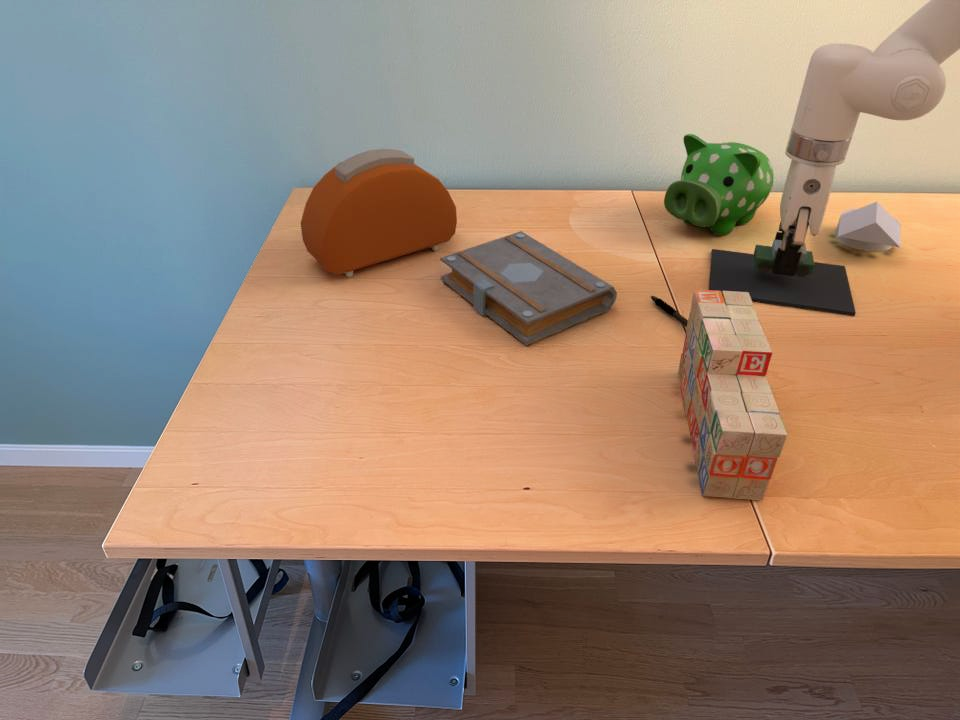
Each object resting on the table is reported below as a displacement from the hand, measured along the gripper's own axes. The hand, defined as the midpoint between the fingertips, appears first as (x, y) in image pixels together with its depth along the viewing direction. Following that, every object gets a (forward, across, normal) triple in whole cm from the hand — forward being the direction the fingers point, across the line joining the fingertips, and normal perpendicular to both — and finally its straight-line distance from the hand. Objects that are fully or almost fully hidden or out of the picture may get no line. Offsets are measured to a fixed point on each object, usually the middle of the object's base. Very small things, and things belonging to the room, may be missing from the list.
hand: (782, 264), depth 104 cm
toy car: (-1, +2, 0) cm, 3 cm away
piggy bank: (+3, +18, +10) cm, 21 cm away
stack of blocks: (+3, -37, +8) cm, 38 cm away
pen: (+3, -16, +13) cm, 21 cm away
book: (+3, -15, +36) cm, 39 cm away
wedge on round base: (+3, +17, -14) cm, 22 cm away
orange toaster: (+3, -9, +61) cm, 62 cm away
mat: (+3, 0, 0) cm, 3 cm away
